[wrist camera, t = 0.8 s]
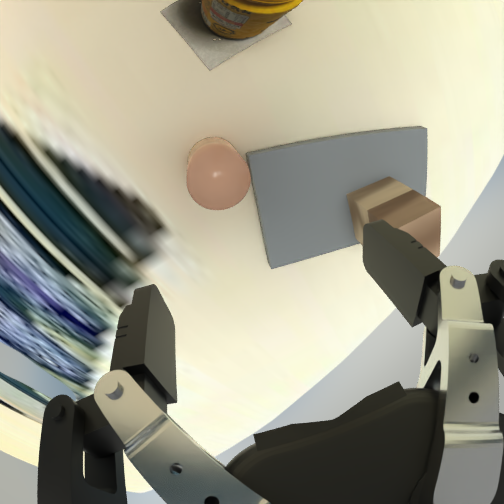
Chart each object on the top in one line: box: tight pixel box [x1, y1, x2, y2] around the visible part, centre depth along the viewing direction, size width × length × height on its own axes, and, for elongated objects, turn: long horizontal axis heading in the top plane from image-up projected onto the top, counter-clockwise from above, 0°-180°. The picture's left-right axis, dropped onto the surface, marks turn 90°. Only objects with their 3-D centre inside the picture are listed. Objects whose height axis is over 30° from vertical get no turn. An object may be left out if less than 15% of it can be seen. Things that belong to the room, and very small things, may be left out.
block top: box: [367, 190, 441, 257], centre depth 23 cm, size 6×6×4 cm
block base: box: [346, 176, 413, 245], centre depth 27 cm, size 6×6×4 cm
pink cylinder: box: [187, 137, 251, 210], centre depth 22 cm, size 4×4×6 cm
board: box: [246, 126, 427, 269], centre depth 28 cm, size 12×20×1 cm, turn 101°
